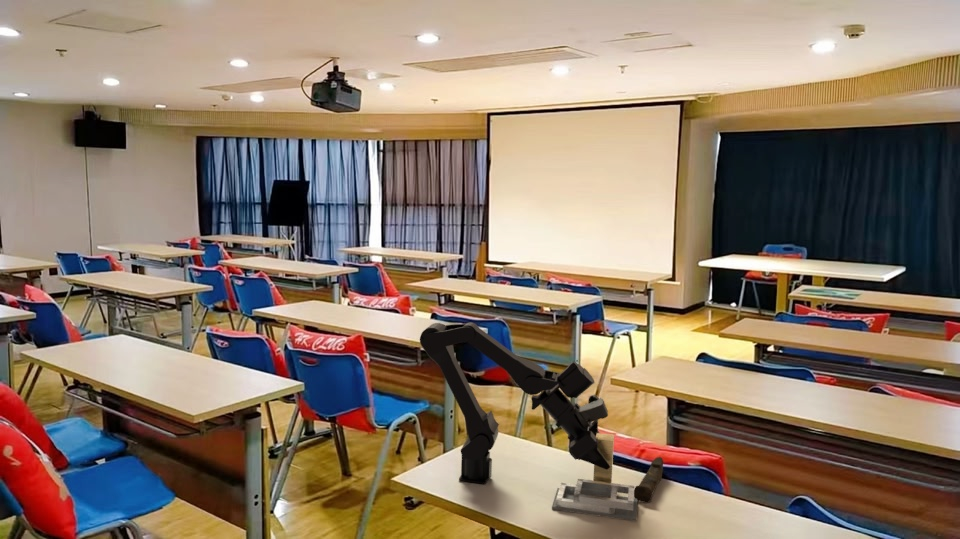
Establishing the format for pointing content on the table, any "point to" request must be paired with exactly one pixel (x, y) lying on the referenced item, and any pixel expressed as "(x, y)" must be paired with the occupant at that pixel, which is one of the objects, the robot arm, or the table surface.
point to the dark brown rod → (649, 481)
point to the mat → (618, 513)
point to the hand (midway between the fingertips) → (608, 460)
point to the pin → (607, 451)
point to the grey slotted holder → (595, 496)
